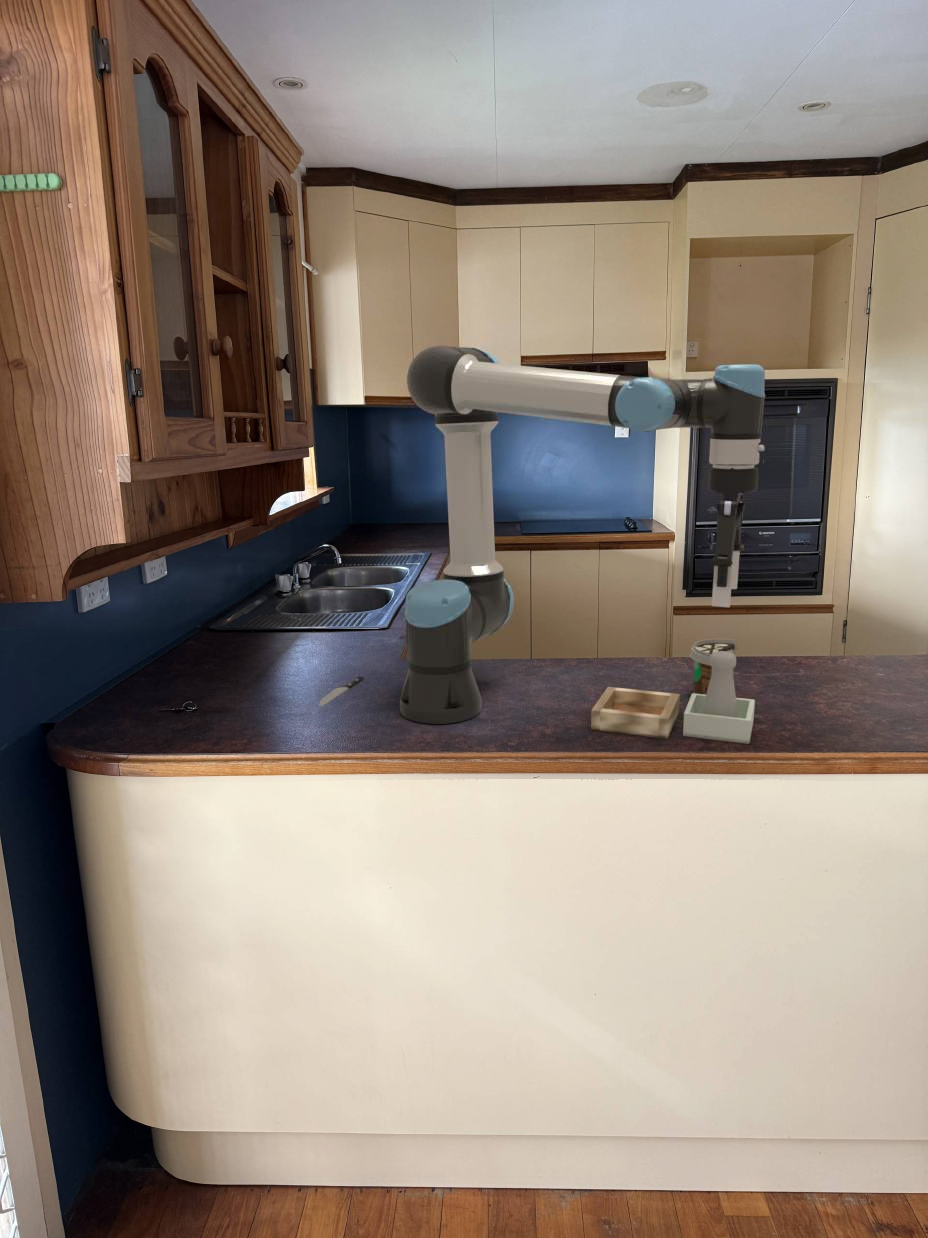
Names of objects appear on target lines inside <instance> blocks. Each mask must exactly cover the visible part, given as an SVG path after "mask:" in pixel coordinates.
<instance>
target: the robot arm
mask: <svg viewBox="0 0 928 1238" xmlns="http://www.w3.org/2000/svg"><path fill="white" fill-rule="evenodd" d="M765 374H766V373H765V369H764V368H763V366H762V365H760V364H755V363H754V364H744V363H743V364H724V365H718V366H717V367H715V370H714V375H713V376H712V378H711V377H710V378H704V379H698V378H697V379H696V378H695V379H688V378H687V379H679V378H678V379H670V378H656V377H646V376H633V375H620V374H612V373H611V374H609V373H602V372H601V373H600V372H589V371H578V370H568V369H561V368H559V369H557V368H549V367H548V368H547V367H538V366H537V367H536V366H528V365H518V364H506V363H501V362H500V361H499V359H497V358H496V357H495V355H493V354H491V353H490V352H488V351H485V350H482V349H480V348H476V347H463V346H461V347H460V346H448V345H433V346H430V347H426V348H425V349H422V350H421V351H420V352H418V354H417V355H415V357H414V358H413V359H412V360H411V362H410V364H409V366H408V371H407V374H406V386H407V389H408V390H407V391H408V393H409V396H410V397H411V399H412V401H413V402H414V403H415V404H416V405H417V407H419V408H420V409H421V410H423V411H424V412H427V413H428V414H433V415H434V418H435V419H434V420H435V428H438V430H439V431H440V432H441V433H442V434H443V436H444V449H445V450H444V454H445V470H446V471H445V475H446V492H447V493H446V495H447V514H448V535H449V537H448V538H449V551H450V552H449V555H450V562H449V563H448V564H447V565H446V567H445V568H444V569H443V571H442V573H443V579H436V580H432V581H425V582H423V583H420V584H417V585H416V586H414V587H412V588H411V589H410V590H409V591H408V593H406V596H405V608H404V618H405V629H406V631H405V635H406V653H407V673H406V677H405V681H404V684H403V687H402V691H401V693H400V694H401V695H400V697H399V711H400V715H401V716H403V717H404V718H405V719H408V720H409V721H412V722H417V723H421V724H428V725H429V724H430V725H432V724H433V725H444V724H452V723H453V724H454V723H461V722H464V721H467V720H470V719H473V718H474V717H476V716H477V715H479V714H480V713H481V712H482V709H483V708H482V695H481V693H480V690H479V689H480V688H479V687H478V684H477V682H476V681H477V680H476V679H475V676H474V673H473V670H472V669H473V668H472V644H473V643H475V642H477V641H479V640H481V639H483V638H484V637H487V636H491V635H492V634H494V633H496V632H497V631H499V630H500V629H501V628H502V627H503V626H504V625H506V624H507V622H508V621H509V619H510V618H511V616H512V614H513V611H514V605H515V597H514V592H513V589H512V587H511V585H510V584H509V583H508V582H507V579H506V578H505V575H504V574H505V573H504V567H503V566H502V565H501V564H500V562H498V560H496V547H495V521H494V520H495V519H494V496H493V495H494V493H493V473H492V471H493V470H492V469H493V467H492V466H493V465H492V442H491V439H492V438H491V433H492V431H493V430H494V428H495V427H497V425H498V424H499V413H503V414H504V413H505V414H510V415H511V414H512V415H513V414H514V415H520V416H522V415H523V416H528V417H537V418H545V419H553V420H561V421H569V422H579V423H585V424H594V425H595V424H596V425H603V426H611V427H612V426H613V427H617V428H623V429H624V428H625V429H629V430H631V431H634V432H637V433H639V432H640V433H651V432H654V431H658V430H665V429H674V428H675V429H678V428H679V429H682V428H683V429H686V428H688V429H690V428H705V429H706V428H710V429H711V430H710V431H711V434H710V441H709V460H708V462H709V464H710V465H712V467H710V469H708V480H707V481H708V482H707V489H708V491H710V492H713V493H722V494H723V495H722V500H720V501H719V503H717V507H716V512H717V517H716V519H717V520H716V529H717V531H716V536H715V537H716V540H715V548H714V554H713V555H714V557H713V558H712V559H709V566H712V567H713V583H712V593H711V595H712V596H711V607H720V608H730V607H731V596H732V590H737V589H738V583H739V582H738V580H739V569H740V568H739V566H740V555H741V553H740V551H744V550H745V543H742V539H741V538H742V535H741V534H742V524H743V519H744V513H745V507H746V503H745V502H743V499H744V494H747V493H748V494H749V493H754V492H756V491H757V489H758V486H759V485H758V482H759V469H758V468H757V467H755V465H758V464H759V463H760V453H759V452H763V451H765V445H764V444H760V443H761V438H762V428H763V426H762V425H763V417H764V407H765V398H766V394H765V384H766V383H765V382H766V380H765V379H766V377H765Z"/></svg>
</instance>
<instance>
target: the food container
mask: <svg viewBox="0 0 928 1238" xmlns="http://www.w3.org/2000/svg"><path fill="white" fill-rule="evenodd" d="M737 648H738V645H737V639H731V638H729V639H728V638H709V639H703V640H698V641H696V642H694V644H693V645H692V647H691V650H690V654H689V657H690V658H691V660H693V677H694V679H693V680H694V681H693V683H694V688H693V689H694V693H695V694H705V695H706V694H707V690H708V686H709V683H710V679H711V675H712V671H713V667H712V666H711V665H710V663H709V658H710V655H711V654H712V653H713V652H717V651H726V652H730V653H733V654H734V655H735V656H736V651H737V650H738V649H737ZM734 668H735V667H734ZM734 668H732V671H733V672H734Z"/></svg>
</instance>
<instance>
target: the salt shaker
mask: <svg viewBox="0 0 928 1238" xmlns="http://www.w3.org/2000/svg"><path fill="white" fill-rule="evenodd" d="M709 663H710V665H711V666H712V667H713V671H712V675H711V679H710V683H709V686H708V690H707V694H706V698H705V702H704V705H703V709H702V713H703V714H709V715H718V716H727V717H736V718H737V716H738V709H737V702H736V698H737V696H736V687H735V681H734V670H733V671H732V668H735V667H736V666H737V656H736V654H735V655H734V654H733V653H730V652H726V651H717V652H713V653H712V654H711V655H710V658H709Z"/></svg>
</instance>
